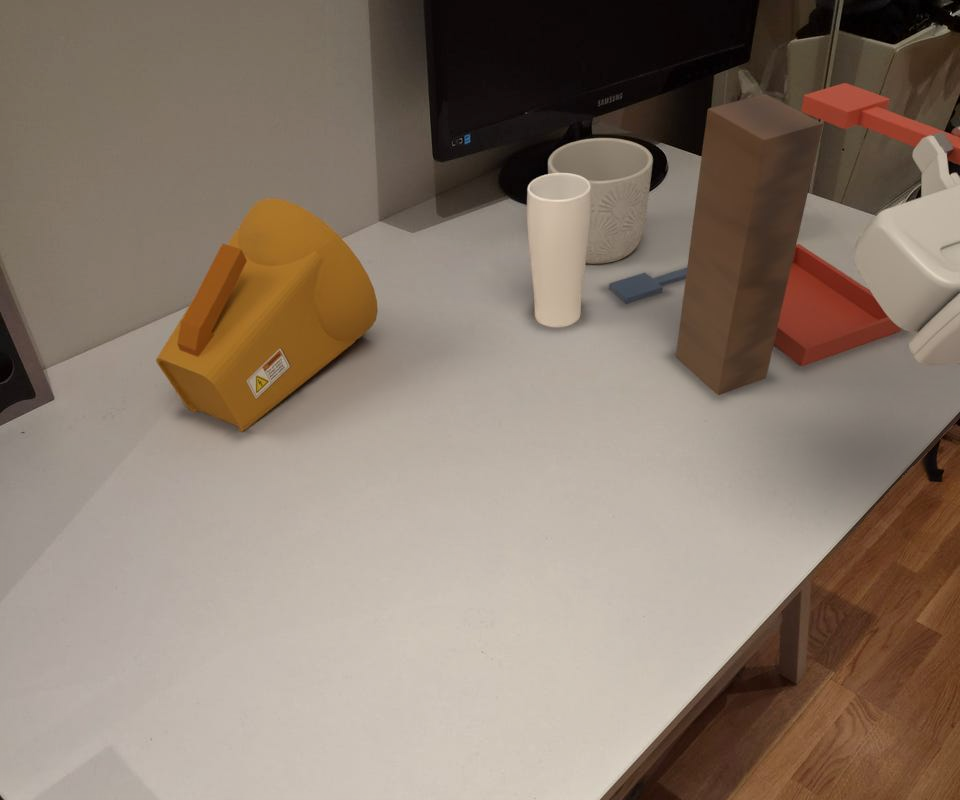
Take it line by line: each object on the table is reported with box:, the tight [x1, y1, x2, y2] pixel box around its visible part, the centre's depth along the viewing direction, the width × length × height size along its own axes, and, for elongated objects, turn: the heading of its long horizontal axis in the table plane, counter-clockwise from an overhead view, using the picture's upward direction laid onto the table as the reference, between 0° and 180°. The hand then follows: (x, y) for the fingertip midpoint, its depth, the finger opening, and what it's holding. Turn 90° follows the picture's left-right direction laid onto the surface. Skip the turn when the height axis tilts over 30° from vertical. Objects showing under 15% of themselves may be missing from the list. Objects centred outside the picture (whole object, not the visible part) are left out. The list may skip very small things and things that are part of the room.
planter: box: [547, 137, 654, 265], centre depth 107 cm, size 12×12×11 cm
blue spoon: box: [608, 267, 687, 305], centre depth 105 cm, size 4×17×1 cm, turn 115°
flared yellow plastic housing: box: [155, 197, 378, 433], centre depth 92 cm, size 20×17×18 cm
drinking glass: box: [526, 173, 591, 328], centre depth 96 cm, size 7×7×15 cm
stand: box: [675, 93, 824, 396], centre depth 83 cm, size 6×8×25 cm
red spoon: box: [800, 82, 960, 166], centre depth 63 cm, size 4×17×1 cm, turn 25°
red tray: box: [773, 243, 902, 367], centre depth 98 cm, size 13×18×3 cm
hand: (941, 136), depth 60 cm, fingers closed on red spoon, 1 cm apart
